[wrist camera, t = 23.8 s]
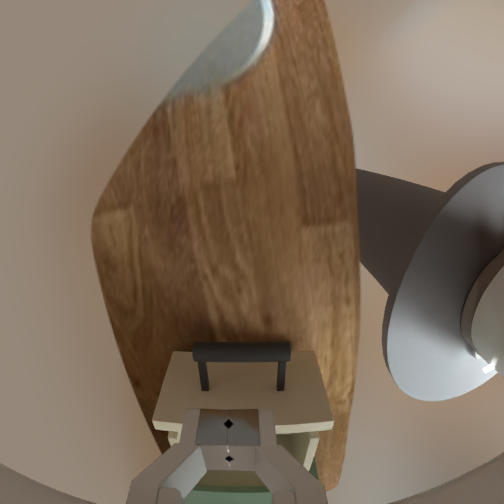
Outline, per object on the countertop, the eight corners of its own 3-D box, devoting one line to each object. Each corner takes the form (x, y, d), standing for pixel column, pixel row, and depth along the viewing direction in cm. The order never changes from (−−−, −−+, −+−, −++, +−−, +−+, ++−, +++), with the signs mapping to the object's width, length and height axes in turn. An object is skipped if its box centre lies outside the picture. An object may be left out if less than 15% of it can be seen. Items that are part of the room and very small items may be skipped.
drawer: (165, 308, 25) (136, 375, 17) (319, 307, 25) (347, 375, 17) (190, 432, 31) (181, 490, 23) (300, 431, 31) (309, 490, 23)
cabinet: (184, 414, 31) (170, 487, 21) (306, 414, 32) (320, 487, 22) (199, 468, 36) (193, 525, 26) (294, 468, 36) (301, 524, 26)
